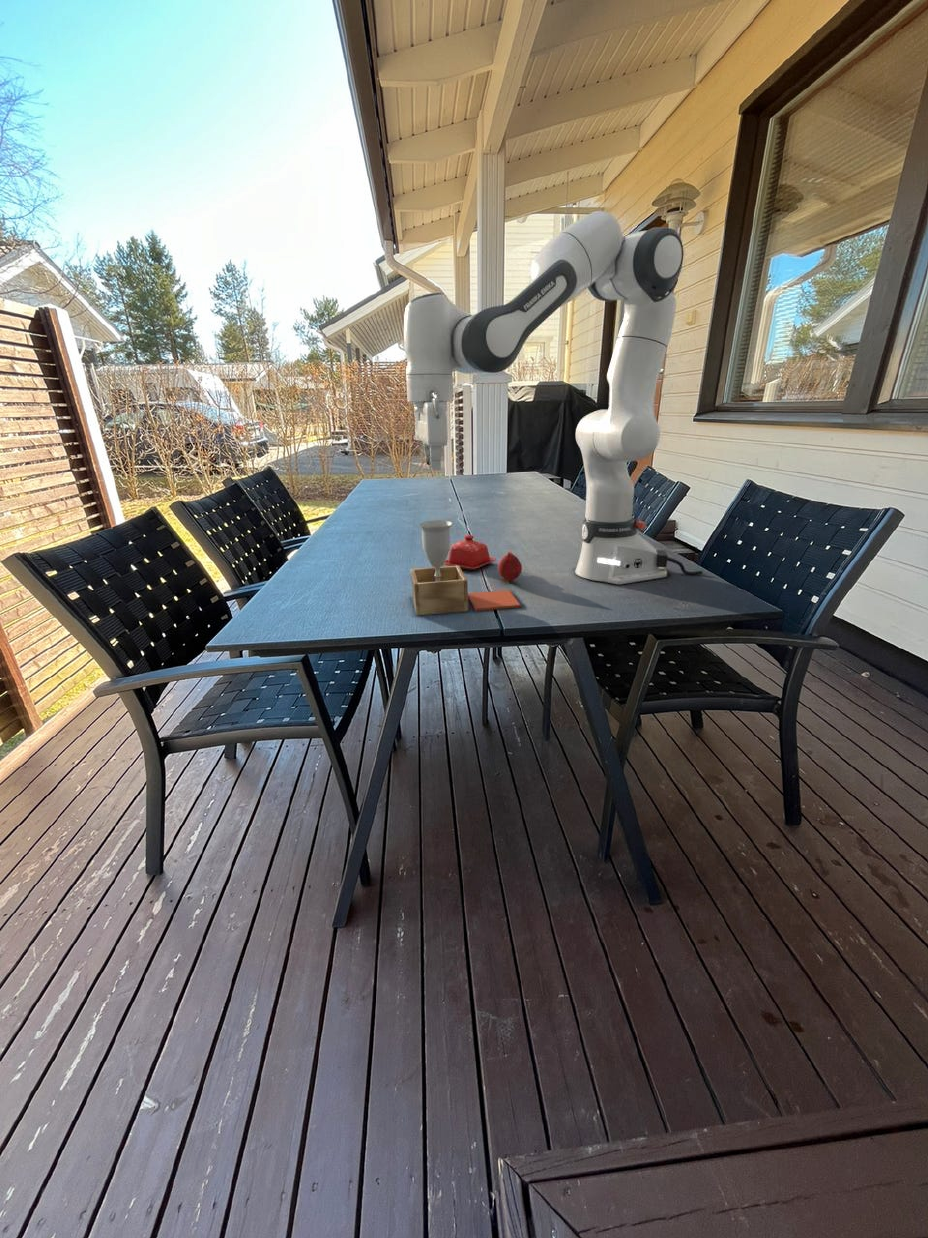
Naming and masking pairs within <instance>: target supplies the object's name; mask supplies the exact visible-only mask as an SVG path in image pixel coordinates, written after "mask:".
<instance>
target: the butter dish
mask: <svg viewBox="0 0 928 1238" xmlns="http://www.w3.org/2000/svg"><path fill="white" fill-rule="evenodd" d="M474 537H475V536H474V535H473V534H465V535H464V540H460V541H458V542H455V543H453V544H452V545H451V546H450V549H449V553H448V559H446V560H445V563H444V565H445V566H458V565H459V567H460V568H461V569H462V570H463V569H465V570H469V571H475V570H477V569H480V568H481V567H485V566H487V565H488V564H491V563H493V562H495V561H497V559H496V558H495V557H491V556H490V553H489V549H488V548H489V547H488V546H487V544H486V543H484V542H481V541H478V540H474Z"/></svg>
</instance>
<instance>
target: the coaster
mask: <svg viewBox="0 0 928 1238" xmlns="http://www.w3.org/2000/svg"><path fill="white" fill-rule="evenodd" d="M468 601H469V602H470V604H471V606H472V608H473V610H474V611H475V612H481V611H482V612H483V611H493V610H503V609H515V608H521V604H520V602H519V601H518V599H517V598H516V597H515V596H514V594H513V593H512V592H511V590H509V589H505V590H492V591H482V592H481V591H480V592H470V593H469V592H468Z"/></svg>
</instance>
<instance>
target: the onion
mask: <svg viewBox="0 0 928 1238" xmlns="http://www.w3.org/2000/svg"><path fill="white" fill-rule="evenodd" d="M522 570H523V565H522V562H521V561H520V559H519V558H518V557H517V556H516V555H515V554H513V553H512V551H511V550H507V553H506V554H505V555H504V556H503V557H502V558H500V561H498V564H497V571H498V574H499V576H500V578H502V579H503V580H504V581H505V582H507V583H510V584H511V583H512V582H514V581H515V580H517V579H518V578H519V577H520V575H521V574H522Z"/></svg>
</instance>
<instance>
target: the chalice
mask: <svg viewBox="0 0 928 1238" xmlns="http://www.w3.org/2000/svg"><path fill="white" fill-rule="evenodd" d="M419 527H420V529H421V535H422V536H421V539H422V549H423V551H424V554H425V557H426V559H427V560H428V562H429V563H430V566H431V567H435V569H436V572H435V575H434V576H435V577H436V581H440V577H441V574H440V567H444V565H445V564H444V563H445V561H446V560H447V558H448V557H449V553H450V549H451V527H452V522H451V521H450V520H449V521H448V520H437V519H436V520H427V521H423V522H421V523H419Z"/></svg>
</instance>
